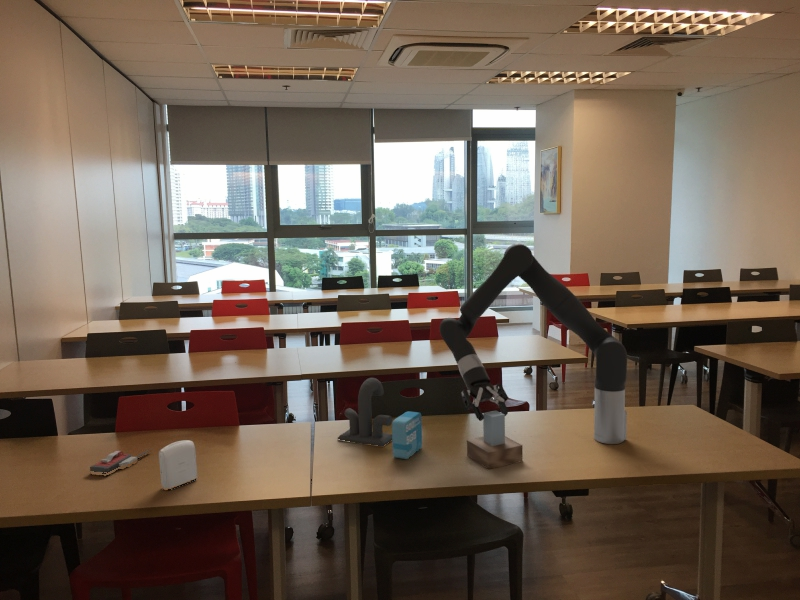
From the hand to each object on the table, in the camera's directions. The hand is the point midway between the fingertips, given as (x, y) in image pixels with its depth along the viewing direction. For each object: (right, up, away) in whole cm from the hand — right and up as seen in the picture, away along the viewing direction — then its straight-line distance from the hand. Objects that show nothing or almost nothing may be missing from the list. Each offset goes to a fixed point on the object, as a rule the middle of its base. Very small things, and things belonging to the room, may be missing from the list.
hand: (494, 417), depth 187 cm
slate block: (0, -8, +1) cm, 8 cm away
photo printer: (-91, -17, -10) cm, 93 cm away
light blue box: (-26, -13, +8) cm, 30 cm away
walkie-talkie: (-115, -16, +6) cm, 116 cm away
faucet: (-38, -11, +24) cm, 47 cm away
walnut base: (0, -13, +2) cm, 13 cm away
